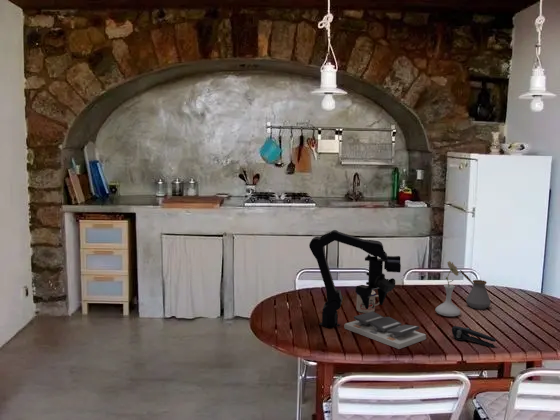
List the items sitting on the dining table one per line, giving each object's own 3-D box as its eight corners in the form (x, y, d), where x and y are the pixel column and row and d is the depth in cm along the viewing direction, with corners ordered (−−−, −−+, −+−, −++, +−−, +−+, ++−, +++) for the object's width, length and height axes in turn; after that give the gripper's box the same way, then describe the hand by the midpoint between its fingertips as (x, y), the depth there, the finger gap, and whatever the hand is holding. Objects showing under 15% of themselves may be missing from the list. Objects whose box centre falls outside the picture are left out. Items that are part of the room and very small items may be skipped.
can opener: (448, 339, 223) (449, 326, 222) (454, 334, 228) (455, 322, 227) (492, 350, 211) (493, 336, 211) (498, 345, 217) (499, 332, 216)
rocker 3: (400, 335, 214) (400, 332, 214) (387, 333, 219) (386, 330, 219) (419, 328, 221) (419, 326, 221) (405, 326, 227) (405, 324, 227)
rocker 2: (382, 331, 221) (383, 329, 220) (369, 324, 226) (370, 321, 225) (401, 325, 228) (401, 323, 228) (388, 318, 233) (388, 316, 233)
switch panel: (398, 349, 210) (399, 340, 210) (344, 328, 232) (344, 320, 232) (425, 339, 221) (426, 331, 221) (371, 320, 244) (371, 313, 243)
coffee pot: (495, 309, 263) (497, 279, 261) (475, 311, 260) (478, 280, 258) (467, 297, 283) (469, 269, 281) (448, 298, 280) (450, 270, 278)
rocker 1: (366, 325, 227) (366, 322, 227) (353, 318, 233) (354, 316, 232) (384, 319, 235) (384, 317, 235) (372, 313, 240) (372, 311, 240)
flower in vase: (461, 319, 247) (465, 265, 244) (435, 317, 249) (439, 264, 246) (458, 310, 260) (461, 259, 257) (433, 308, 262) (436, 258, 259)
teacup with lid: (359, 313, 252) (360, 289, 251) (353, 307, 261) (354, 284, 260) (383, 313, 254) (384, 288, 253) (377, 307, 263) (378, 283, 262)
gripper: (375, 278, 217) (374, 315, 219) (404, 271, 229) (403, 307, 231) (355, 272, 226) (353, 309, 228) (384, 266, 238) (382, 301, 240)
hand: (374, 306), depth 231 cm, fingers open, 9 cm apart
